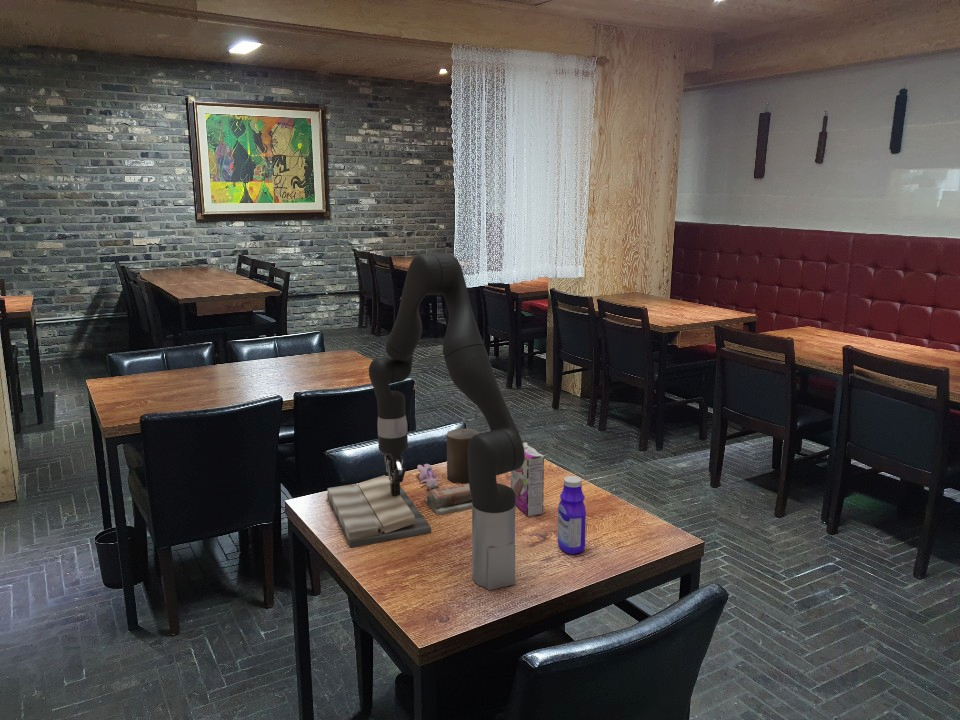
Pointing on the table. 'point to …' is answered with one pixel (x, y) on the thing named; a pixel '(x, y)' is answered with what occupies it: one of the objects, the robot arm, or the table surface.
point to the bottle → (572, 516)
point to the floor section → (368, 517)
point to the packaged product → (450, 499)
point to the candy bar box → (529, 482)
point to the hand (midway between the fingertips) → (395, 494)
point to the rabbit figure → (428, 477)
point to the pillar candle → (458, 454)
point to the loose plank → (386, 504)
